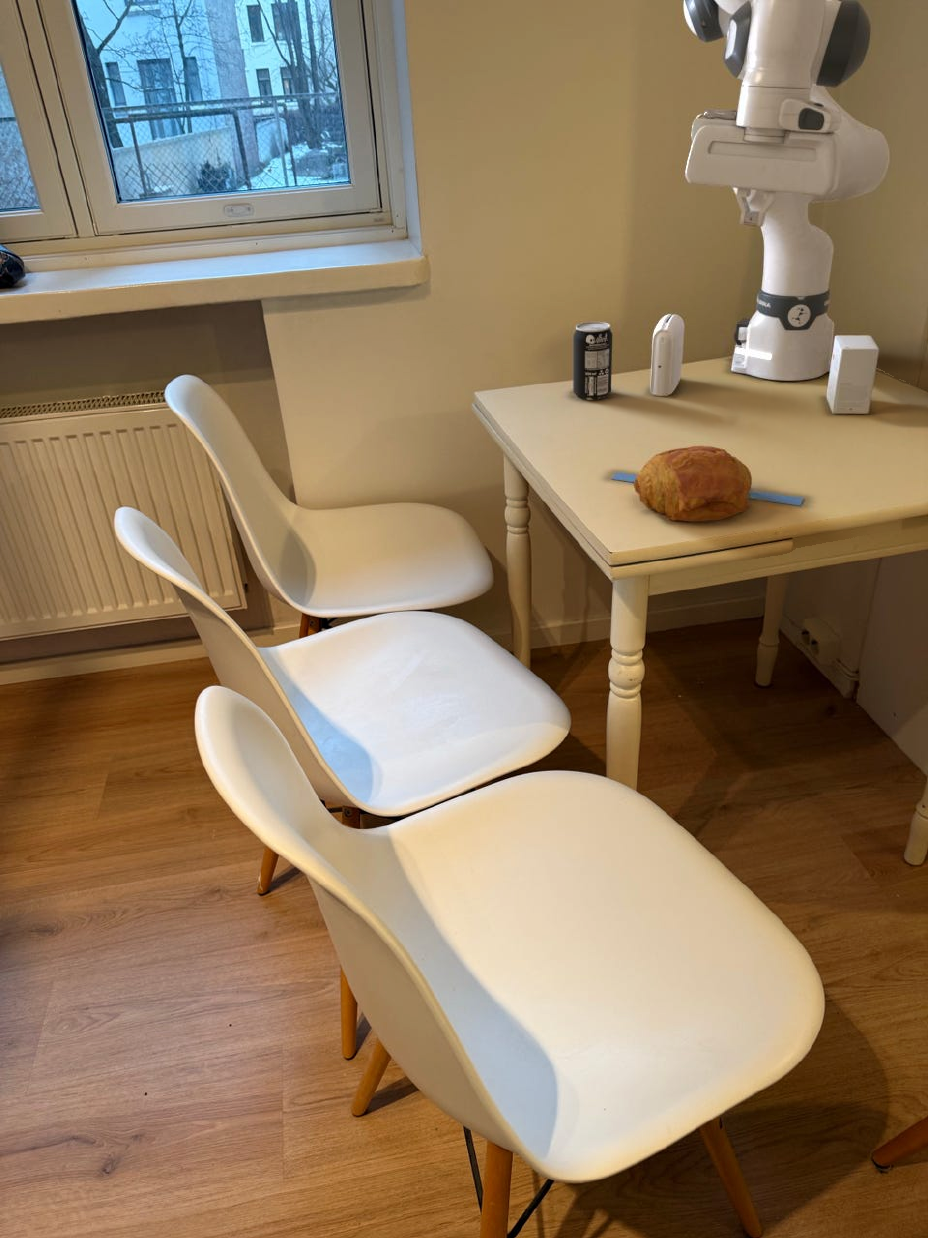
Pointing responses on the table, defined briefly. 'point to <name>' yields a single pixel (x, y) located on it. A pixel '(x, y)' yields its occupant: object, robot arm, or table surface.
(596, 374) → the beverage can
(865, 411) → the small box
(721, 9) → the robot arm
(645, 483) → the croissant
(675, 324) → the photo printer
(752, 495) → the tape line
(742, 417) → the table surface
